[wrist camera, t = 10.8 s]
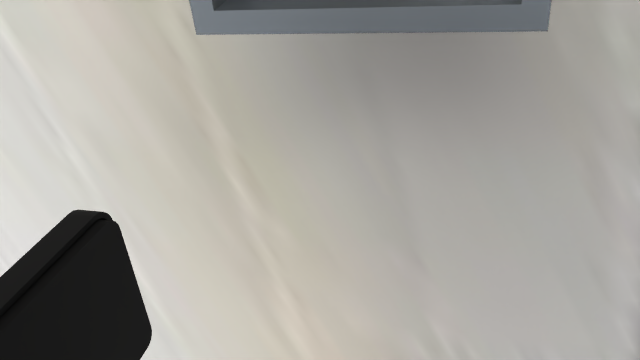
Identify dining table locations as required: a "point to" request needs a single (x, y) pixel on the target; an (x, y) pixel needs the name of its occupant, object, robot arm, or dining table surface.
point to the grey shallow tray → (367, 16)
